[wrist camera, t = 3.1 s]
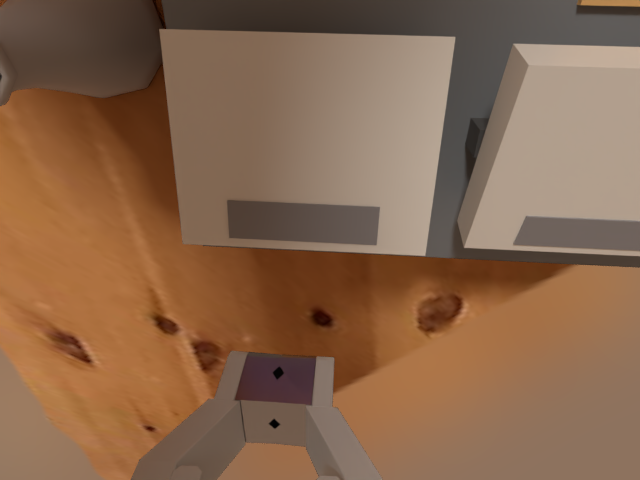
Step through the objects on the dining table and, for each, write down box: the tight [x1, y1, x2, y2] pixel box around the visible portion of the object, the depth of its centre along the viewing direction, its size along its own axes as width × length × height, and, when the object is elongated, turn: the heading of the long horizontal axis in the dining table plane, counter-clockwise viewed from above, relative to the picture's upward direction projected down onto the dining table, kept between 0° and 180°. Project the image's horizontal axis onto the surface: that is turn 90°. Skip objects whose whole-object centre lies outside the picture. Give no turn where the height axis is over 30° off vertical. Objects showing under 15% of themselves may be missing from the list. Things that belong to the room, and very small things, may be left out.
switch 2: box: [457, 44, 640, 256], centre depth 16 cm, size 8×10×2 cm
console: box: [162, 0, 640, 267], centre depth 21 cm, size 14×24×8 cm, turn 89°
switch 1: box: [159, 29, 456, 256], centre depth 16 cm, size 8×10×2 cm
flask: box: [0, 0, 163, 106], centre depth 19 cm, size 7×7×10 cm
